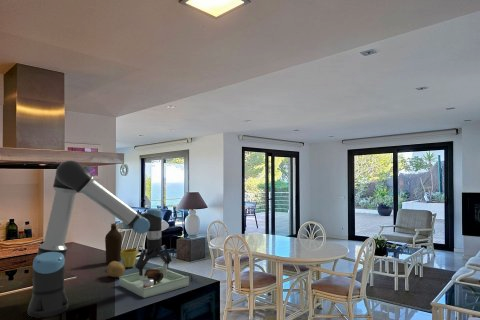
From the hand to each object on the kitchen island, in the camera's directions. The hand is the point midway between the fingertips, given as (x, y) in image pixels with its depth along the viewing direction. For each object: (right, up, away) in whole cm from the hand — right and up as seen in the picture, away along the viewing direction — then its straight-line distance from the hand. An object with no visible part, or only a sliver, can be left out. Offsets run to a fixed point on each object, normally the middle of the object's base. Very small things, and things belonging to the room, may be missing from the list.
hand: (154, 278), depth 177 cm
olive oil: (-40, -5, +48) cm, 62 cm away
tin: (0, -2, -12) cm, 13 cm away
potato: (-26, -4, +15) cm, 30 cm away
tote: (0, -4, 0) cm, 4 cm away
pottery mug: (0, -4, -1) cm, 4 cm away
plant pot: (-25, -5, +37) cm, 45 cm away
